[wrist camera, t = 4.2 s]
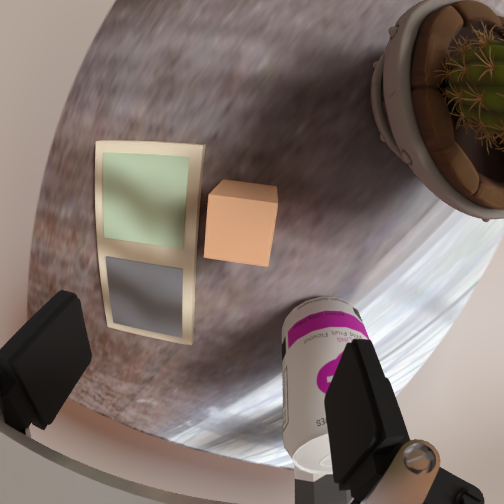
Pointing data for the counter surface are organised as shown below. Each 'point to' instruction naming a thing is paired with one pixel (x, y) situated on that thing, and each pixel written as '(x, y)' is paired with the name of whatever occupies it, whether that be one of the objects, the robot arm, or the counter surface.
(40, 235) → the counter surface
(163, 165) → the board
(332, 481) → the wine bottle
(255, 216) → the block
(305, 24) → the counter surface
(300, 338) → the supplement can
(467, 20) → the flowerpot
